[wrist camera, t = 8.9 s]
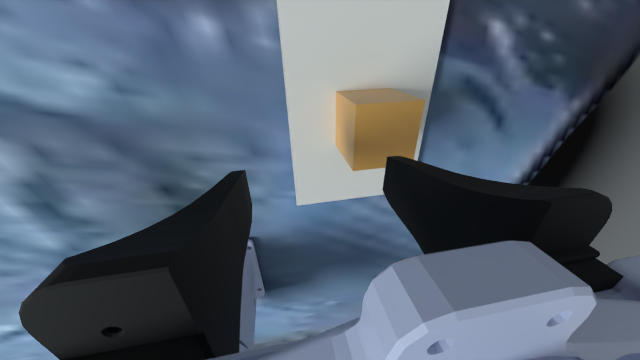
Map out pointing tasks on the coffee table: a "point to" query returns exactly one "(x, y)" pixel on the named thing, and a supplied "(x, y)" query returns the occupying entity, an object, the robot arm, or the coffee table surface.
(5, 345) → the coffee table surface
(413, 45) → the plate
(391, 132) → the tan cardboard-like box
